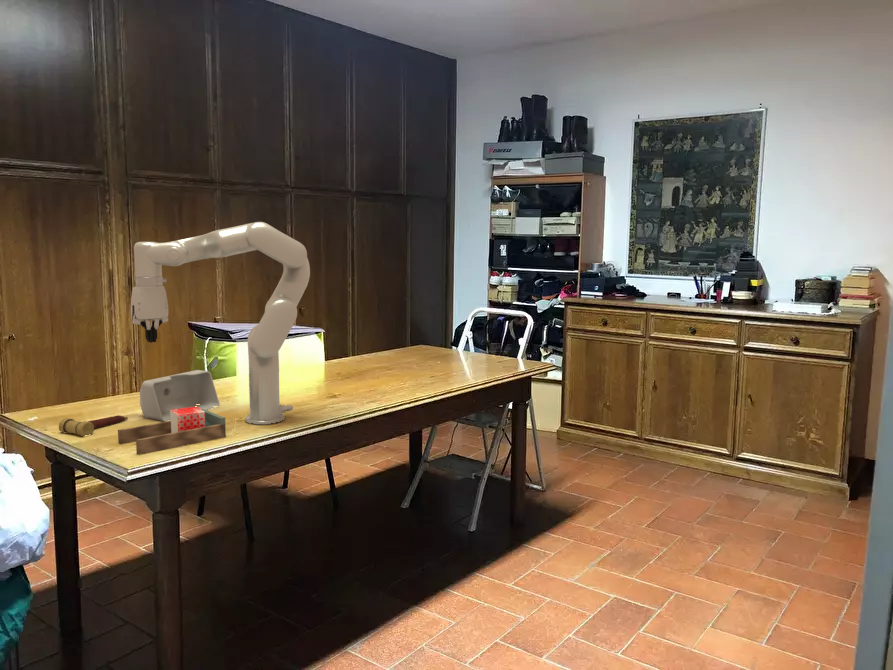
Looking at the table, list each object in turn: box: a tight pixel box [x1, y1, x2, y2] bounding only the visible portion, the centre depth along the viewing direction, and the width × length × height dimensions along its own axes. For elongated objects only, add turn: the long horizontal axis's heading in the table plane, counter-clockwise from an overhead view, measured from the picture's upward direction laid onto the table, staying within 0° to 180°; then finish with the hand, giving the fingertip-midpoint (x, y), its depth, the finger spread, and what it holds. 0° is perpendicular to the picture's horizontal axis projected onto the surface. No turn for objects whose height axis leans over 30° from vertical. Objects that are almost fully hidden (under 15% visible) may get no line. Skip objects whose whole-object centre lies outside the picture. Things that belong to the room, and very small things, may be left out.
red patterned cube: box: [170, 407, 205, 433], centre depth 216 cm, size 8×8×8 cm
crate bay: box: [117, 409, 227, 455], centre depth 212 cm, size 26×14×6 cm, turn 135°
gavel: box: [58, 415, 129, 437], centre depth 225 cm, size 21×5×10 cm
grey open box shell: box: [139, 369, 220, 422], centre depth 246 cm, size 25×16×12 cm, turn 152°
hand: (151, 341), depth 222 cm, fingers closed
